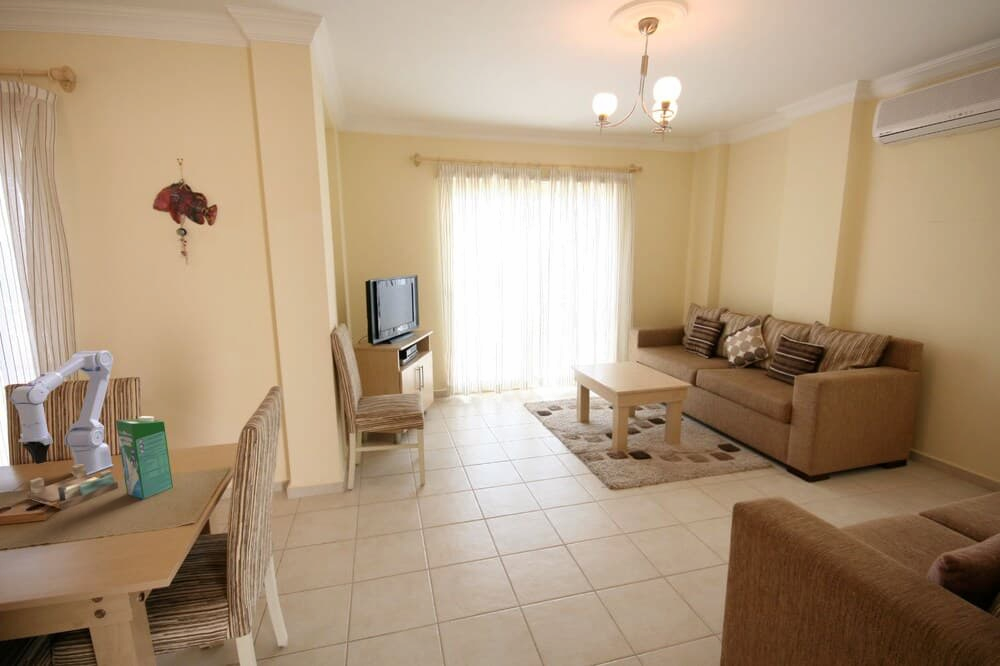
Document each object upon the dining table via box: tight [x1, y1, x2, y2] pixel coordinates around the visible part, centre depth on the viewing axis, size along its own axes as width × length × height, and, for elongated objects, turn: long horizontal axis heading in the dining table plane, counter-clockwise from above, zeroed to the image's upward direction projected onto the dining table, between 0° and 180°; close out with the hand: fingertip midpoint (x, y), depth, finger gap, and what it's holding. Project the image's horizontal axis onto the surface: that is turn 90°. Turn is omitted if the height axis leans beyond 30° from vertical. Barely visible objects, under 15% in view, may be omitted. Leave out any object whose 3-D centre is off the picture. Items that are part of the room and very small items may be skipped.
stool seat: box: [26, 464, 119, 511], centre depth 149 cm, size 15×19×6 cm
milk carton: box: [115, 415, 174, 500], centre depth 149 cm, size 9×9×25 cm
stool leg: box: [58, 476, 99, 500], centre depth 145 cm, size 10×2×4 cm, turn 158°
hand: (40, 462), depth 149 cm, fingers closed
